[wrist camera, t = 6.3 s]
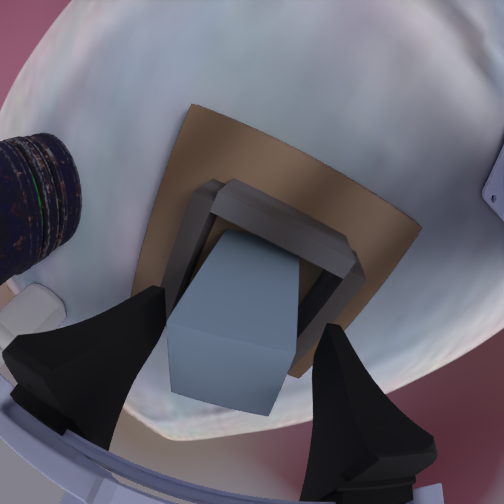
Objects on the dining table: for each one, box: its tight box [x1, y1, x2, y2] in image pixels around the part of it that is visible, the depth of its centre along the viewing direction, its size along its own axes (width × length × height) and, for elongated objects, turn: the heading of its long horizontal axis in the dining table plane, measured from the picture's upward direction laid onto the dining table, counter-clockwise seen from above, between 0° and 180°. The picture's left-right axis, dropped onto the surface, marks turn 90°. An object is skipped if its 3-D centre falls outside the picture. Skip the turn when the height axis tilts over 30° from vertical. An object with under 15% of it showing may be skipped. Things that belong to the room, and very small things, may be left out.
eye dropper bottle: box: [0, 283, 66, 367], centre depth 17 cm, size 4×6×12 cm
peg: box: [167, 228, 299, 416], centre depth 12 cm, size 4×4×8 cm
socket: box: [130, 104, 422, 378], centre depth 15 cm, size 14×14×4 cm
